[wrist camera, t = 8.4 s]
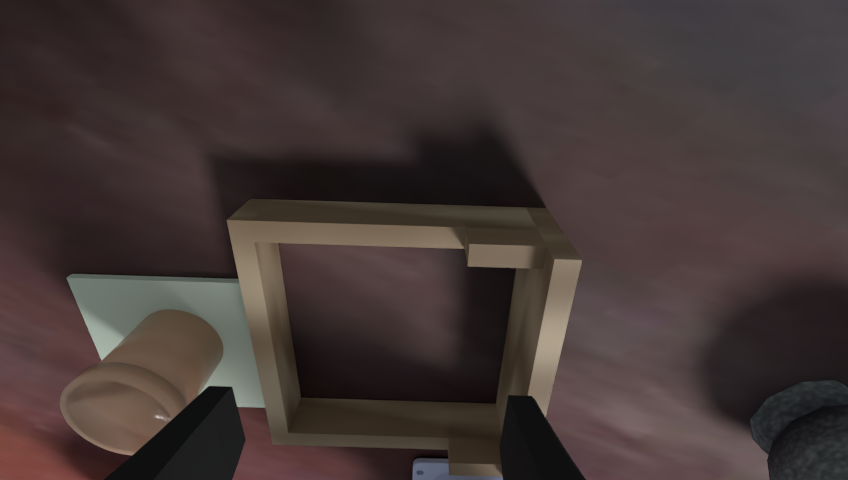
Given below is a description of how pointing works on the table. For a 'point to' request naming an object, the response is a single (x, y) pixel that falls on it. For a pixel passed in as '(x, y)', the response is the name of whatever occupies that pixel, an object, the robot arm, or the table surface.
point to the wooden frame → (407, 227)
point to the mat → (204, 297)
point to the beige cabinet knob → (143, 381)
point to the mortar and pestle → (805, 431)
